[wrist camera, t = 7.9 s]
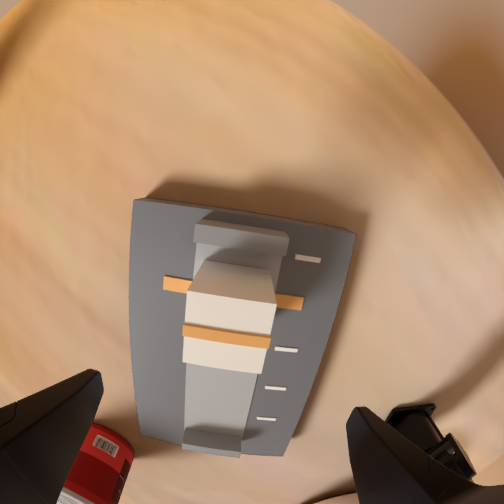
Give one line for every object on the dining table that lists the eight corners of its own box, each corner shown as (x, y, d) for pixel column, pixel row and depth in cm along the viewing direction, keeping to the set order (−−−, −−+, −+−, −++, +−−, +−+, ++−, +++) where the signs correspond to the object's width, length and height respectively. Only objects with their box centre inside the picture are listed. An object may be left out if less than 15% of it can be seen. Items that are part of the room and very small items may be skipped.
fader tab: (270, 270, 17) (278, 305, 12) (259, 327, 18) (262, 375, 13) (203, 259, 17) (185, 291, 12) (197, 317, 18) (181, 363, 13)
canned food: (68, 416, 24) (30, 476, 14) (120, 425, 24) (87, 500, 13) (94, 453, 26) (68, 510, 15) (144, 462, 26) (123, 529, 15)
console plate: (346, 229, 19) (368, 241, 15) (281, 442, 24) (284, 471, 20) (144, 197, 18) (119, 202, 14) (145, 422, 24) (135, 449, 20)
